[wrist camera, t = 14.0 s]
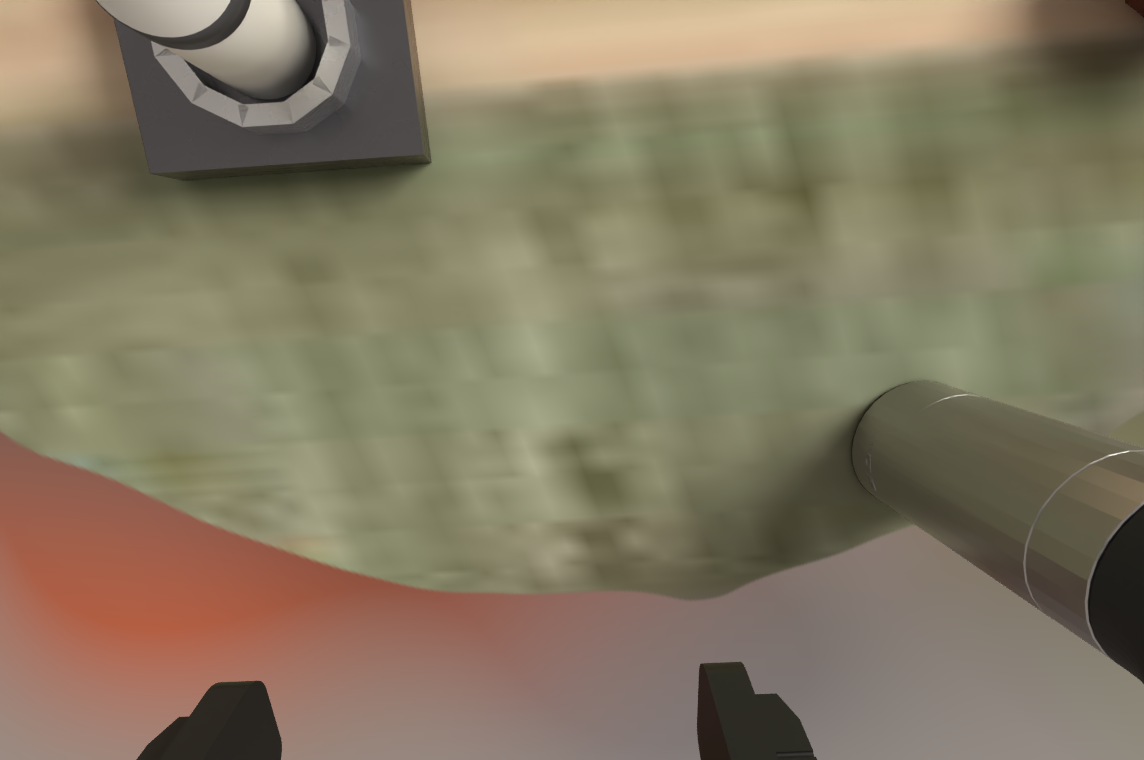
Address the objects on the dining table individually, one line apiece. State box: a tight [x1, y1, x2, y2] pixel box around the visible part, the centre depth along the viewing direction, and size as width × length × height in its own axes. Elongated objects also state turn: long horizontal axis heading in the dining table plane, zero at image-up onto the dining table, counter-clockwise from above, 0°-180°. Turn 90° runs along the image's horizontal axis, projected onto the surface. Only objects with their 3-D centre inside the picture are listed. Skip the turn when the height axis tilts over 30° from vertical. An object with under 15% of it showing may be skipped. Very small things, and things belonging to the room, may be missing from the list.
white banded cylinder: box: [96, 0, 316, 99], centre depth 25 cm, size 6×6×9 cm
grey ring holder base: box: [114, 0, 431, 180], centre depth 29 cm, size 14×12×5 cm
